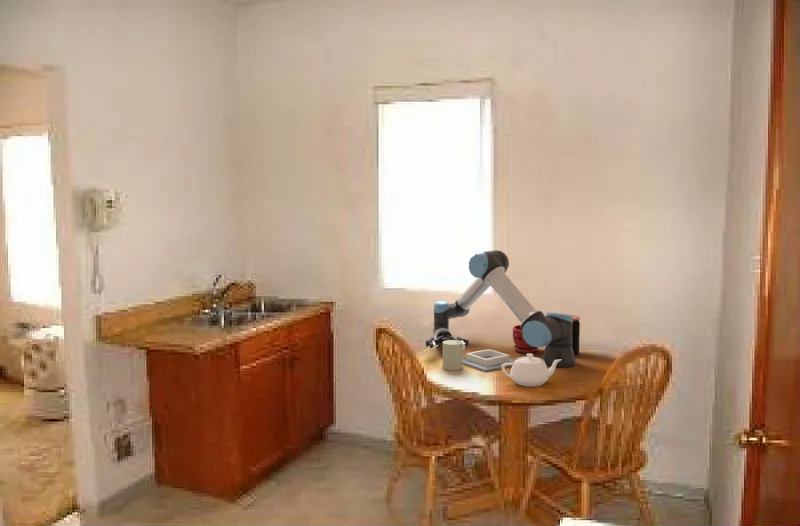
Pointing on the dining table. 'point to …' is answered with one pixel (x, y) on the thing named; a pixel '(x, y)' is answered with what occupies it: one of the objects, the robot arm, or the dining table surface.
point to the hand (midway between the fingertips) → (449, 347)
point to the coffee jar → (575, 334)
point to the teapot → (530, 370)
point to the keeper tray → (487, 360)
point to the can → (452, 354)
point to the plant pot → (521, 341)
